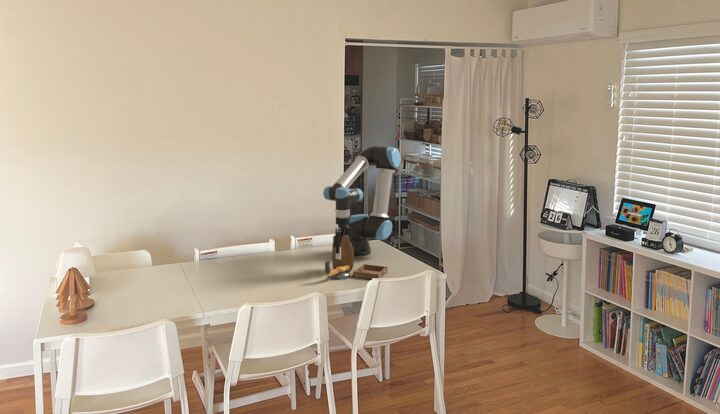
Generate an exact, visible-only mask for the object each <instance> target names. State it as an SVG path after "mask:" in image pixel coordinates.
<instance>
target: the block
mask: <svg viewBox="0 0 720 414" xmlns="http://www.w3.org/2000/svg"><path fill="white" fill-rule="evenodd" d="M334 240H335V235H333V236H332V251H331V252H332V256H331V257H332V259H331V260H332V261H331V262H332V264H331V265H332V270H334V269H336V267H343V266H346V265H347V266H349V267H350V269H348V270H345V271H349V272H351V271H352V270H353V268H354V261H355V260H354V253H353V247H352V245H351V242H350V241H349V235H346V234H344V236H343V237H342V241H341V245H340V247H341V259H336V247H334Z"/></svg>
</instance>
